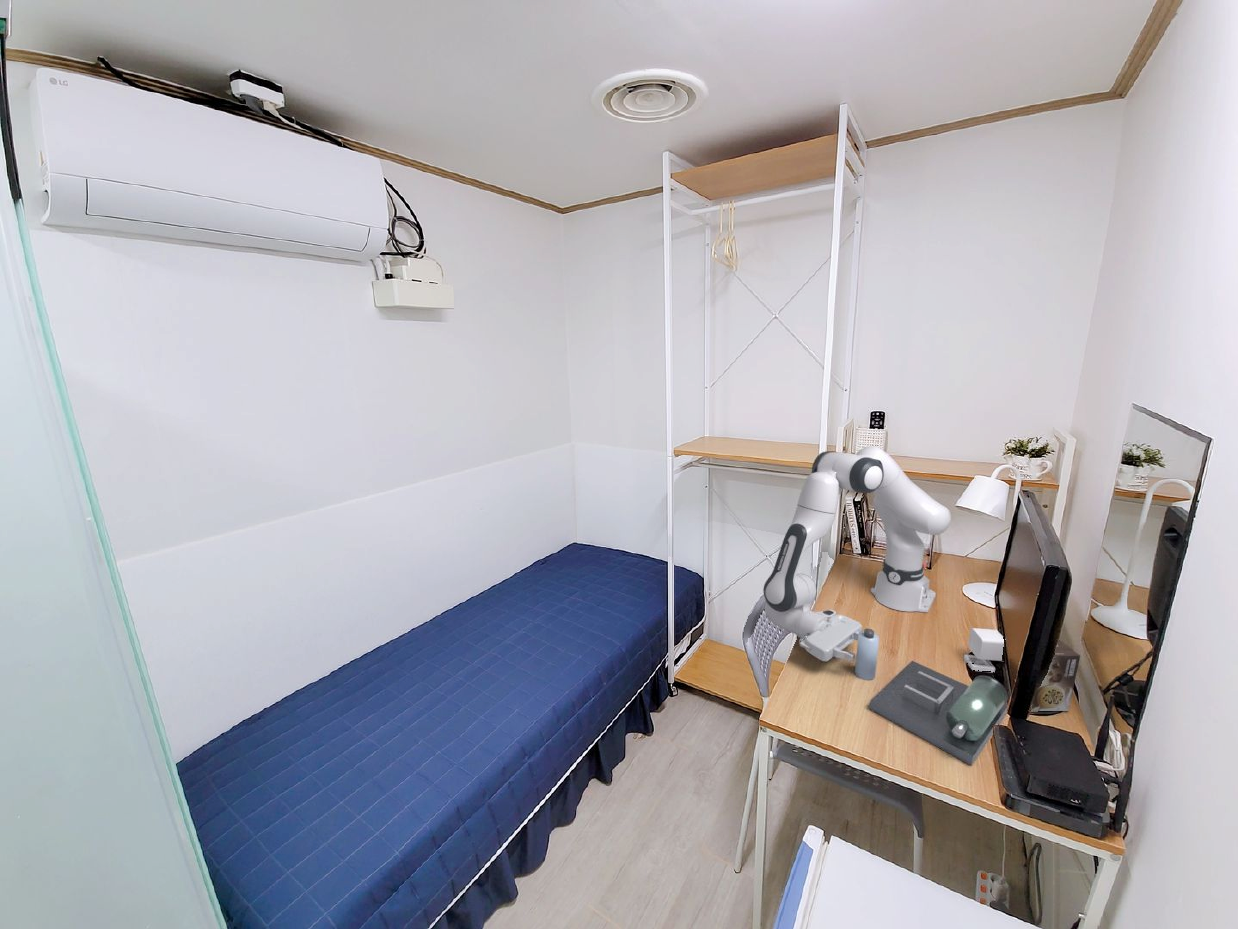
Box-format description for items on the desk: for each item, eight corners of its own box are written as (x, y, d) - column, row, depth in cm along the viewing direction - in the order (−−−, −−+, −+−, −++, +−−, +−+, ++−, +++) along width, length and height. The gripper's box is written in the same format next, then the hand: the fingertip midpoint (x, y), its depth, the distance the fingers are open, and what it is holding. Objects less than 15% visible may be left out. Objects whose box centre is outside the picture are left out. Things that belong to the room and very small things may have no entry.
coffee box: (1048, 694, 127) (1060, 639, 123) (1068, 713, 120) (1082, 655, 116) (1011, 694, 127) (1022, 639, 123) (1030, 712, 121) (1042, 655, 117)
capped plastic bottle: (860, 665, 139) (864, 623, 136) (878, 674, 136) (883, 631, 132) (851, 673, 136) (855, 630, 133) (869, 682, 133) (874, 639, 129)
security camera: (1002, 674, 134) (1008, 642, 132) (973, 671, 136) (978, 639, 133) (990, 659, 140) (995, 628, 138) (962, 657, 142) (967, 626, 139)
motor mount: (911, 668, 138) (915, 638, 135) (1007, 713, 121) (1014, 679, 118) (869, 709, 124) (873, 676, 121) (971, 766, 107) (978, 729, 104)
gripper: (796, 633, 139) (843, 656, 129) (834, 607, 151) (880, 627, 141) (794, 652, 141) (841, 677, 130) (832, 625, 153) (878, 646, 142)
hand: (861, 650), depth 136 cm, fingers open, 8 cm apart
